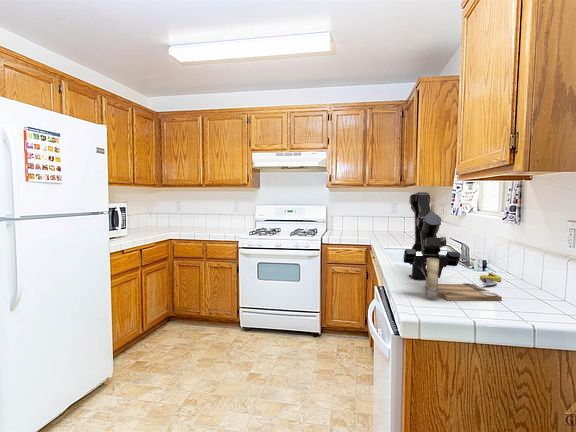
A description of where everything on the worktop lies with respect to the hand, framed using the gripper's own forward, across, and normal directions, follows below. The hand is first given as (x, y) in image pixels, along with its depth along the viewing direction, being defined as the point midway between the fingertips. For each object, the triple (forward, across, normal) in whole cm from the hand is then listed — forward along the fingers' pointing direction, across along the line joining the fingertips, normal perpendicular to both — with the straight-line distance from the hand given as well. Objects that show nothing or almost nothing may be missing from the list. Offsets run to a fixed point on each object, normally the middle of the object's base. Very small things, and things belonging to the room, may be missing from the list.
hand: (432, 277), depth 120 cm
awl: (+4, 0, +6) cm, 7 cm away
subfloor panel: (-2, +12, +14) cm, 19 cm away
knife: (-18, +29, +31) cm, 46 cm away
